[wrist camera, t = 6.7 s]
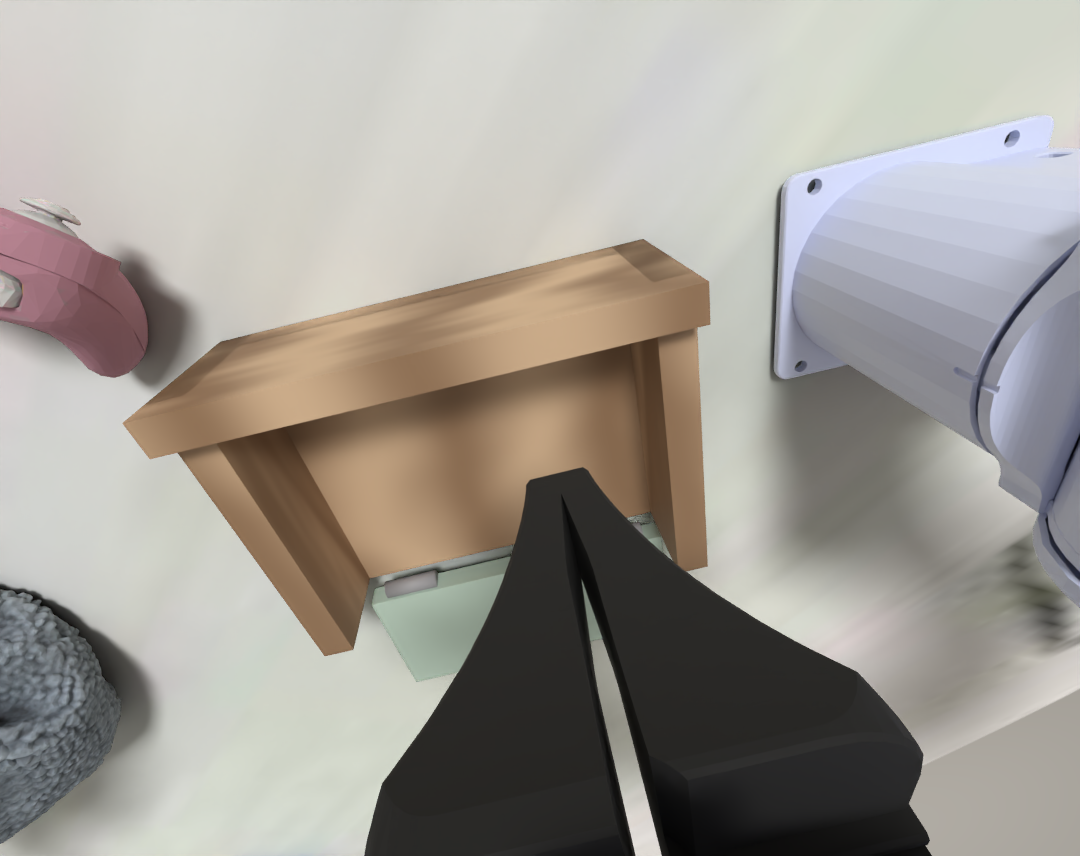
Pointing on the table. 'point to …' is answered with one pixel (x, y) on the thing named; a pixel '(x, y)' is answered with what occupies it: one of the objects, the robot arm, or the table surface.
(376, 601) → the panel
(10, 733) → the koala plush
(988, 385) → the robot arm
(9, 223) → the video game controller
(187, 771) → the table surface
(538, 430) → the crate
